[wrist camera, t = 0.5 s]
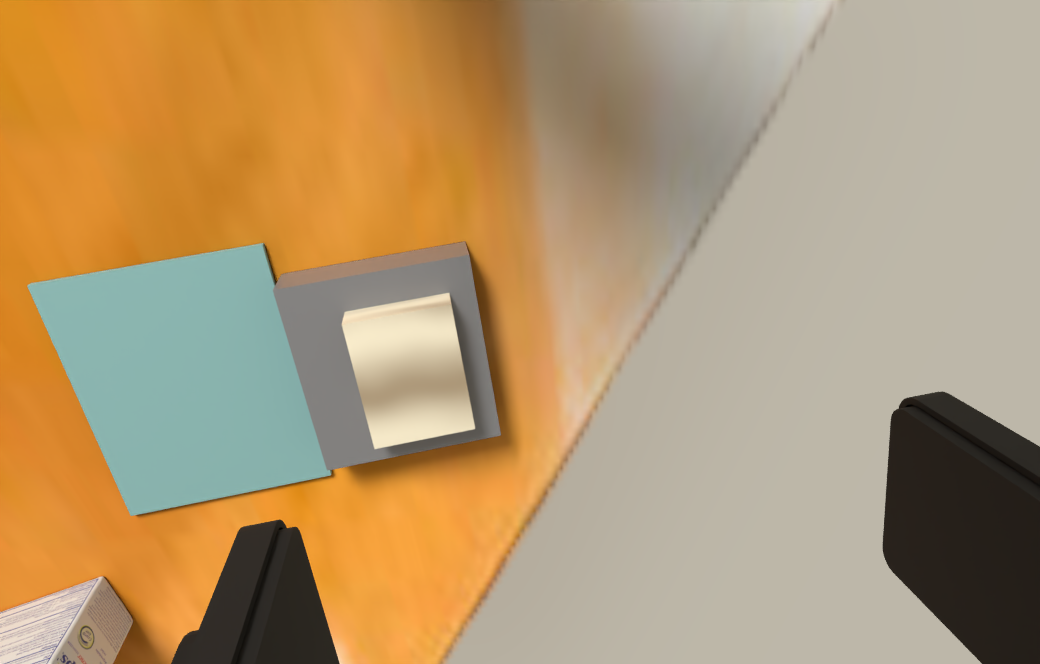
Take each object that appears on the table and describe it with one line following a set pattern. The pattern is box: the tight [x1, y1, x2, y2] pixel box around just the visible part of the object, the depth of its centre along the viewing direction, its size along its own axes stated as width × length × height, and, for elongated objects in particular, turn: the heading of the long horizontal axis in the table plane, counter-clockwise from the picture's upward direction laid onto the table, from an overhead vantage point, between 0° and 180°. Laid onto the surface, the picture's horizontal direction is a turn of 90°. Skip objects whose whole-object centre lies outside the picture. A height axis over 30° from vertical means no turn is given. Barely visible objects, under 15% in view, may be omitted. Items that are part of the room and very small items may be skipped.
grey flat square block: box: [273, 242, 501, 471], centre depth 42 cm, size 12×11×3 cm
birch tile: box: [342, 293, 475, 449], centre depth 40 cm, size 8×6×2 cm
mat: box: [27, 243, 332, 516], centre depth 42 cm, size 16×13×1 cm
